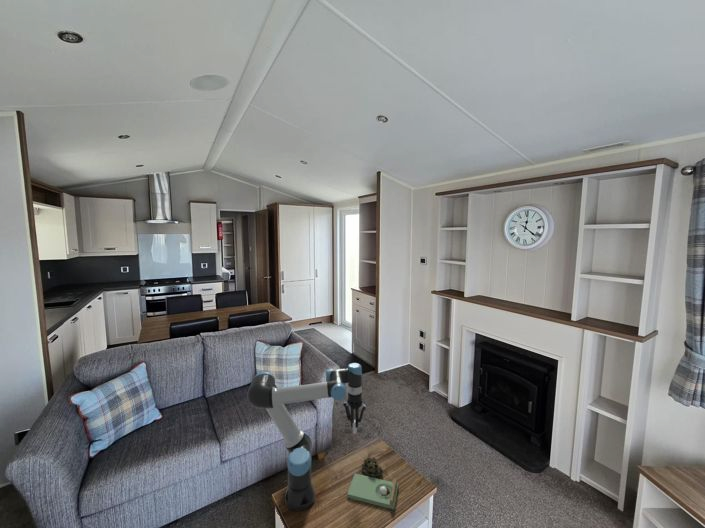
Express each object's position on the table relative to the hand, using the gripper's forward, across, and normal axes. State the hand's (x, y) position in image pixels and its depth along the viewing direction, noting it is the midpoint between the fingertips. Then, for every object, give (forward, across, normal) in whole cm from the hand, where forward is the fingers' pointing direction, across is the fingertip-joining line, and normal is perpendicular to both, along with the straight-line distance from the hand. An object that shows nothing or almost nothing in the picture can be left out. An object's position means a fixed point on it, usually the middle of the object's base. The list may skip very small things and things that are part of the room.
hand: (354, 432), depth 173 cm
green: (+24, +13, -10) cm, 29 cm away
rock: (+25, +9, +4) cm, 27 cm away
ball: (+22, +18, -10) cm, 30 cm away
